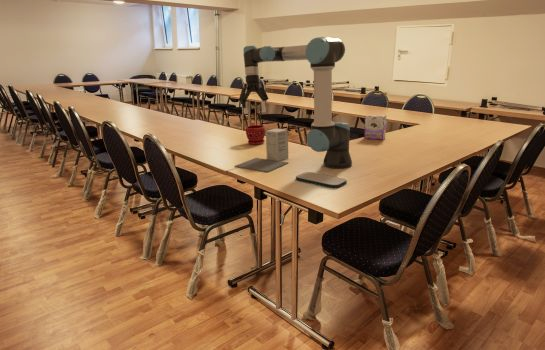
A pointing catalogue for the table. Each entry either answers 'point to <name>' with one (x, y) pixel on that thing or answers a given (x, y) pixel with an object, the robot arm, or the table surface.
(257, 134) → the plant pot
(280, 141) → the supplement box
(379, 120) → the candy box
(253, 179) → the table surface
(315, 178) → the external hard drive
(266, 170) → the grey rubber mat
